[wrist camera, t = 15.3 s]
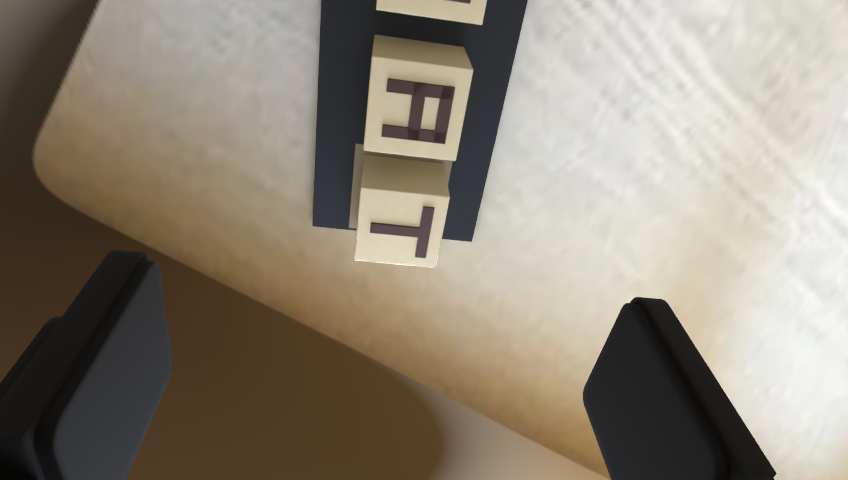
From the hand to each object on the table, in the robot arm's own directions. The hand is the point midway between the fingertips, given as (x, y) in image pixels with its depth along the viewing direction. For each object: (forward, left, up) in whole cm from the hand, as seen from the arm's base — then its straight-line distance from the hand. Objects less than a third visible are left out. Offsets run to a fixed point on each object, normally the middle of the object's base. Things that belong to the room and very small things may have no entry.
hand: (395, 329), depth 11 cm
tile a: (+1, -1, -20) cm, 20 cm away
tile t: (+1, -8, -20) cm, 22 cm away
